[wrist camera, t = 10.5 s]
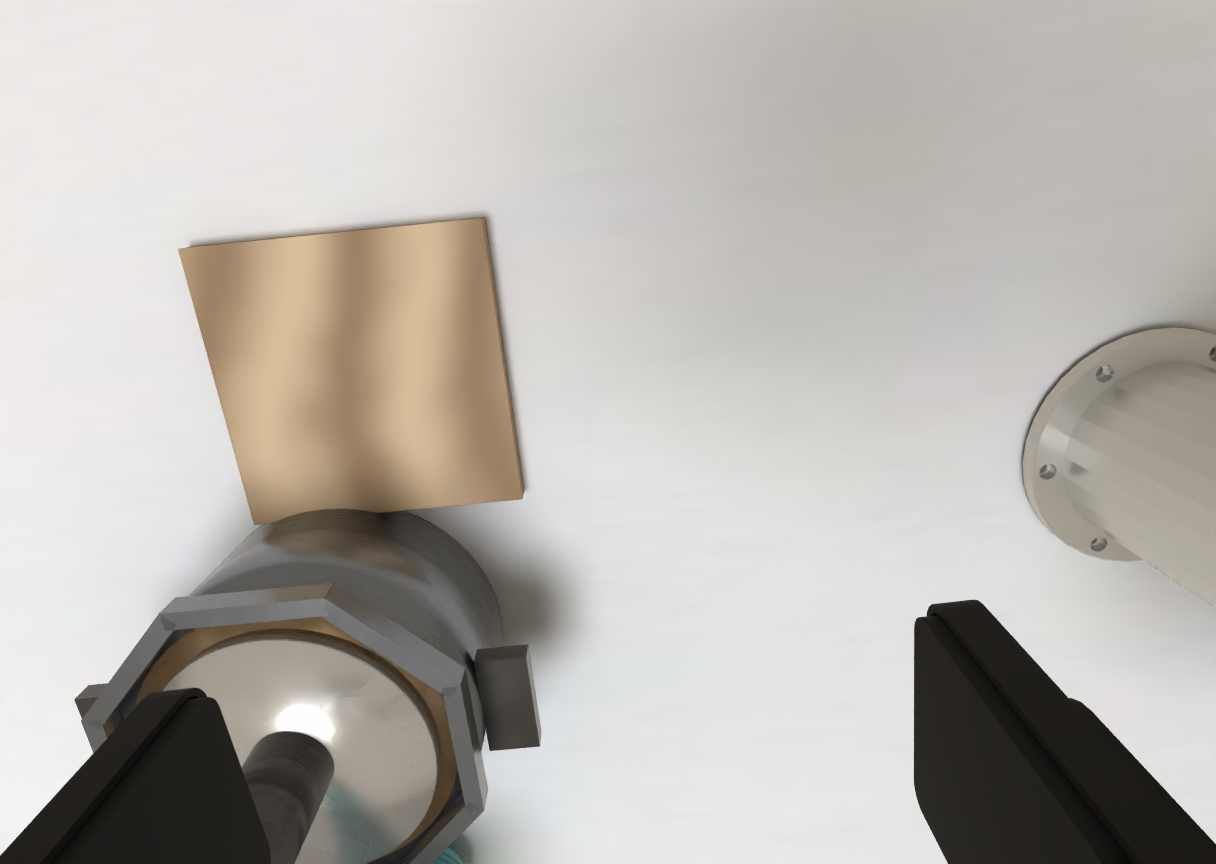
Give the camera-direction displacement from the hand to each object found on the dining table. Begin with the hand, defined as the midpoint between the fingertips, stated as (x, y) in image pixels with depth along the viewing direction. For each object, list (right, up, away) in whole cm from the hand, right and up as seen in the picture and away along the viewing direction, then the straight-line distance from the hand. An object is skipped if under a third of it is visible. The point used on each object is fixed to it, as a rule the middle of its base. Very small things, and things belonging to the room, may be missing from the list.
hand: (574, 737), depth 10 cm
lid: (-13, -10, +23) cm, 28 cm away
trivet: (-12, +7, +27) cm, 30 cm away
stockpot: (-13, -7, +31) cm, 35 cm away
